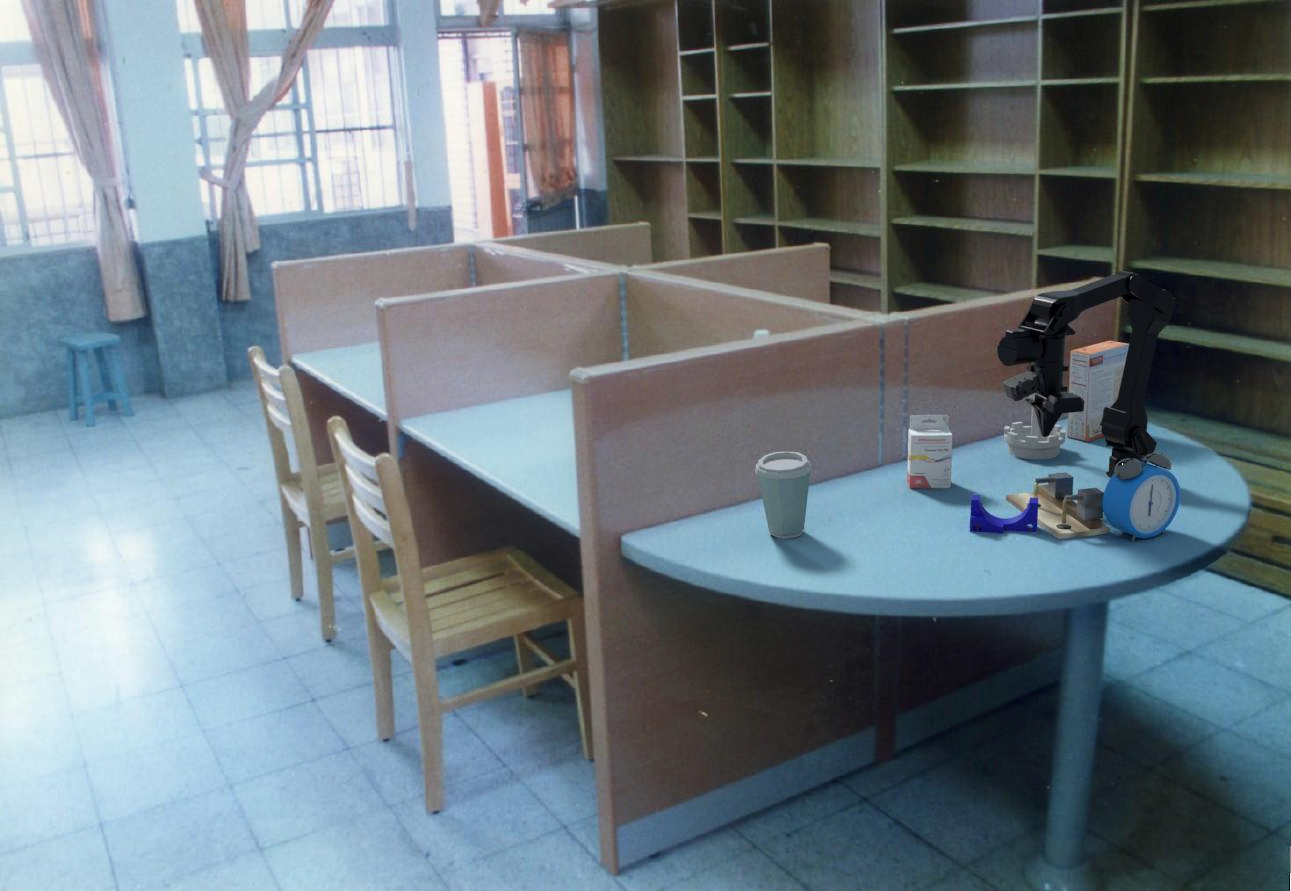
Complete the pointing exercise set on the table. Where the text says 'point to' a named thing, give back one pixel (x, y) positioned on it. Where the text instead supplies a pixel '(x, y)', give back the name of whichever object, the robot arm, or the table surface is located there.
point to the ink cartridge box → (929, 452)
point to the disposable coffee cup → (784, 491)
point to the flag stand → (1033, 439)
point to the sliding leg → (1056, 485)
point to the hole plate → (1066, 512)
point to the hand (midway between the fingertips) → (1044, 436)
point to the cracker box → (1094, 385)
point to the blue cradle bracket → (1002, 519)
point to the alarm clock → (1142, 496)
